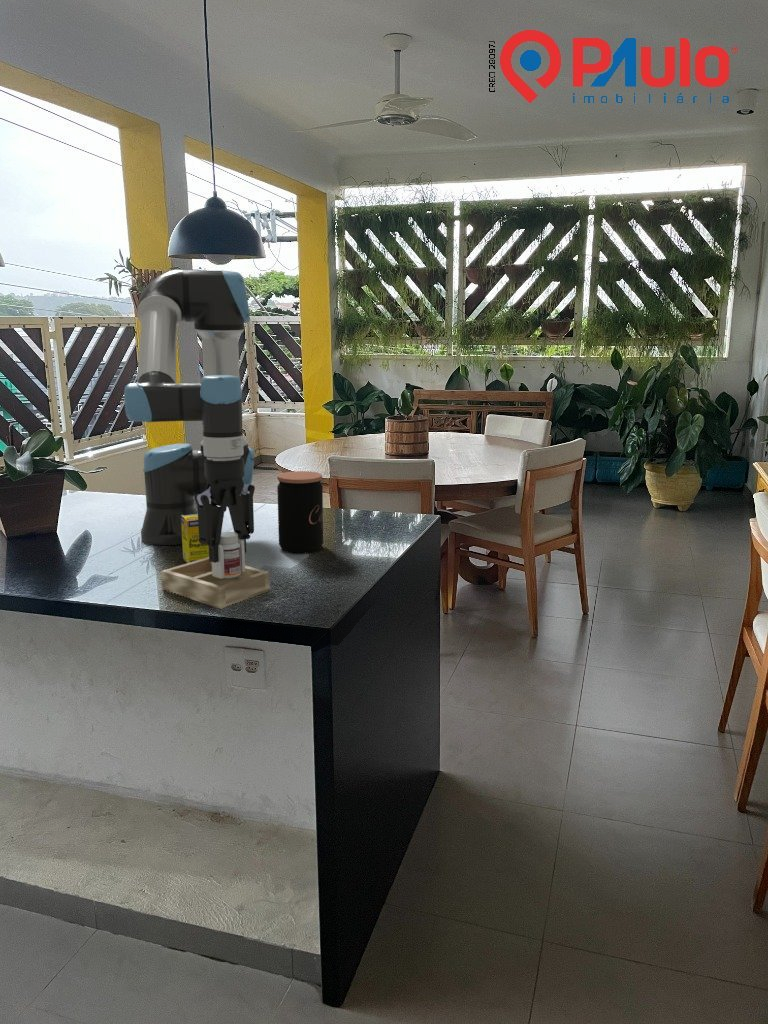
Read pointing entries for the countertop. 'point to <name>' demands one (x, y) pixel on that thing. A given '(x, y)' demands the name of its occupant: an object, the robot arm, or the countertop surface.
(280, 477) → the coffee jar
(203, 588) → the divided wooden tray
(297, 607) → the countertop surface
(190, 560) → the supplement box
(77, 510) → the countertop surface
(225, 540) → the pill bottle
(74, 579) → the countertop surface
